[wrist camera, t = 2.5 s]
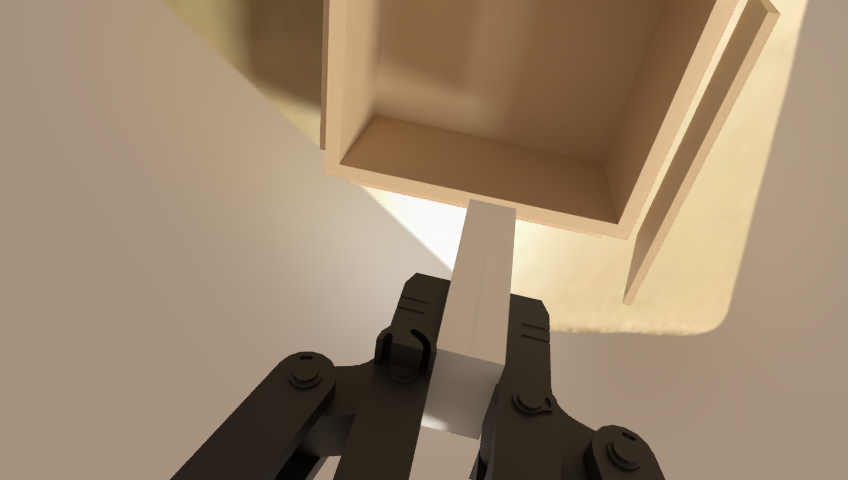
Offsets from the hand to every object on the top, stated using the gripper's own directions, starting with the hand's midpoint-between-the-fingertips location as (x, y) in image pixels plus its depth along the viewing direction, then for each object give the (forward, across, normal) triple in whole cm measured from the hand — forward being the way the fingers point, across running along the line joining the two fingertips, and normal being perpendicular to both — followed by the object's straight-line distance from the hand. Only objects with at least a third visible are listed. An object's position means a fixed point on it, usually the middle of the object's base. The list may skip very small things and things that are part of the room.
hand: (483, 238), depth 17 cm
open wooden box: (+26, 0, 0) cm, 26 cm away
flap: (+11, +9, 0) cm, 14 cm away
